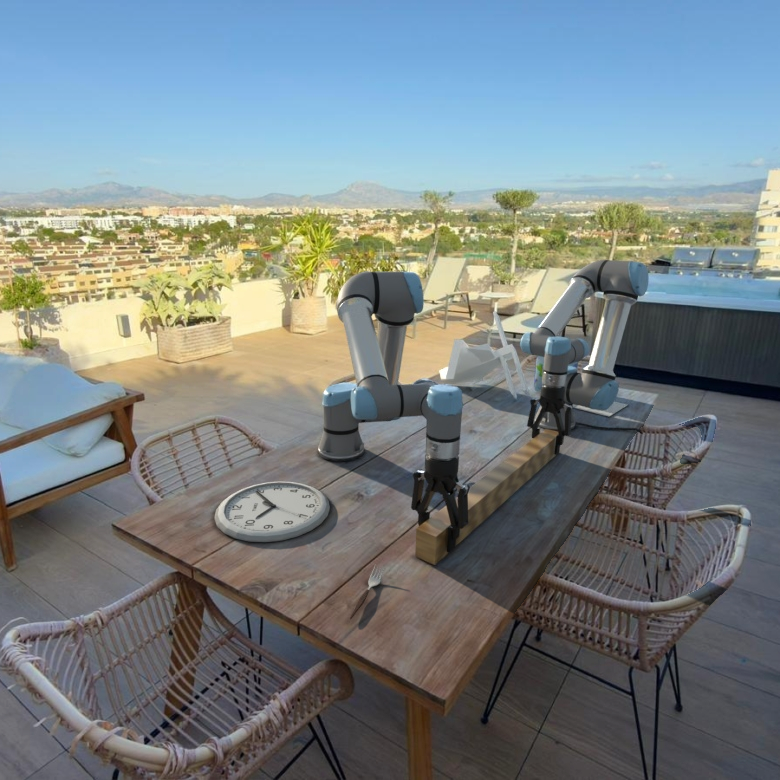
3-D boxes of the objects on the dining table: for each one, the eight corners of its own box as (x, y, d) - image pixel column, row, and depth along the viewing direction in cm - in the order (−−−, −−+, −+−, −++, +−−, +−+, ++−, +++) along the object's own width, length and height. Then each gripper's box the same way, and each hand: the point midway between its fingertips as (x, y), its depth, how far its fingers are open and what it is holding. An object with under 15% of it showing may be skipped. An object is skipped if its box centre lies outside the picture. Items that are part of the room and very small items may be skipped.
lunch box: (550, 398, 235) (555, 353, 229) (529, 393, 243) (534, 349, 236) (577, 387, 253) (583, 345, 247) (557, 382, 260) (562, 341, 254)
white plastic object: (461, 429, 252) (437, 405, 227) (444, 352, 274) (420, 323, 250) (535, 404, 240) (518, 377, 215) (510, 326, 262) (492, 293, 237)
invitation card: (608, 416, 214) (573, 407, 224) (608, 416, 214) (573, 408, 224) (628, 404, 229) (594, 396, 238) (628, 405, 229) (594, 397, 238)
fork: (344, 619, 101) (343, 610, 101) (374, 571, 116) (374, 563, 115) (356, 623, 100) (356, 614, 100) (385, 574, 115) (385, 566, 114)
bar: (543, 448, 182) (545, 428, 180) (558, 452, 179) (561, 432, 177) (415, 556, 121) (416, 528, 119) (434, 565, 118) (436, 536, 116)
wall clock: (328, 534, 126) (200, 538, 124) (328, 540, 127) (201, 544, 124) (331, 477, 155) (227, 479, 152) (331, 482, 155) (227, 484, 153)
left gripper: (396, 448, 119) (394, 536, 126) (473, 472, 108) (466, 567, 115) (415, 438, 125) (412, 523, 131) (489, 460, 113) (482, 551, 120)
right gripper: (520, 381, 172) (514, 446, 179) (580, 393, 161) (571, 461, 168) (529, 377, 178) (523, 439, 184) (587, 388, 166) (578, 454, 173)
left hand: (437, 543), depth 123 cm, fingers open, 7 cm apart
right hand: (546, 450), depth 176 cm, fingers open, 7 cm apart
